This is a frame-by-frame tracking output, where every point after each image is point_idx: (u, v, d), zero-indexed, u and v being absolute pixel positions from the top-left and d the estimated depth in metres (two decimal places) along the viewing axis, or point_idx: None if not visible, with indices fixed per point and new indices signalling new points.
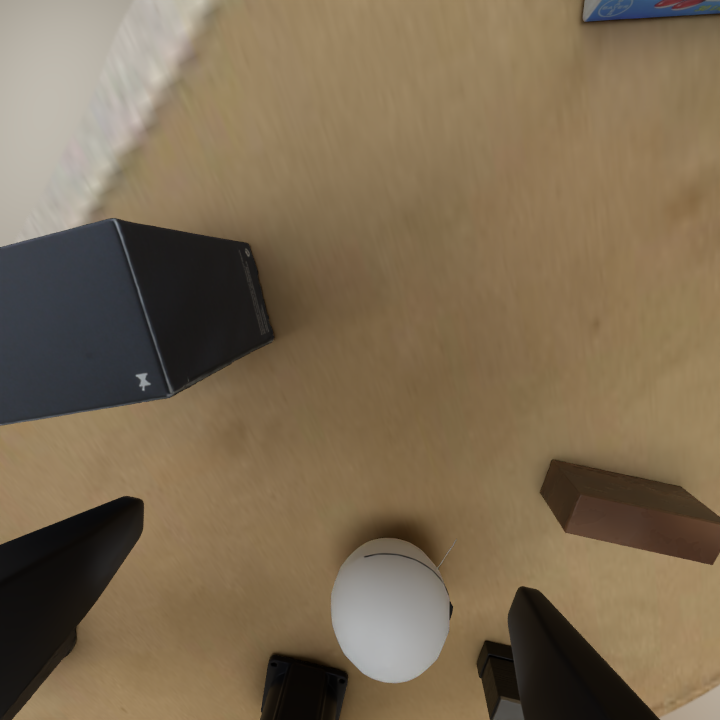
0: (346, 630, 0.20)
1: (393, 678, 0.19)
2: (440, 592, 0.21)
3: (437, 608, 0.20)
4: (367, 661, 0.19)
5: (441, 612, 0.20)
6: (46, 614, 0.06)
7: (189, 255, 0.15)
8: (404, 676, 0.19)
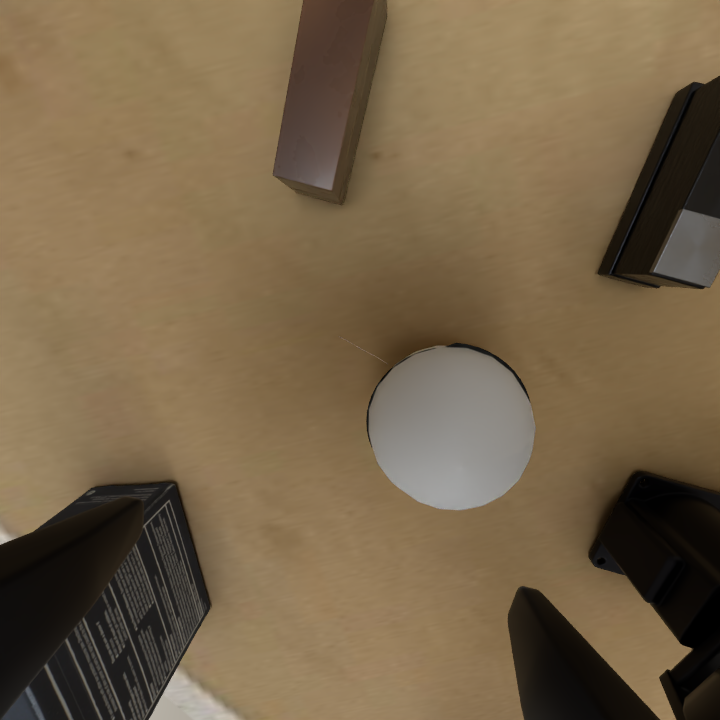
0: (427, 501, 0.15)
1: (489, 461, 0.13)
2: (411, 364, 0.15)
3: (416, 377, 0.14)
4: (455, 490, 0.13)
5: (425, 371, 0.14)
6: (46, 614, 0.06)
7: None
8: (489, 445, 0.13)
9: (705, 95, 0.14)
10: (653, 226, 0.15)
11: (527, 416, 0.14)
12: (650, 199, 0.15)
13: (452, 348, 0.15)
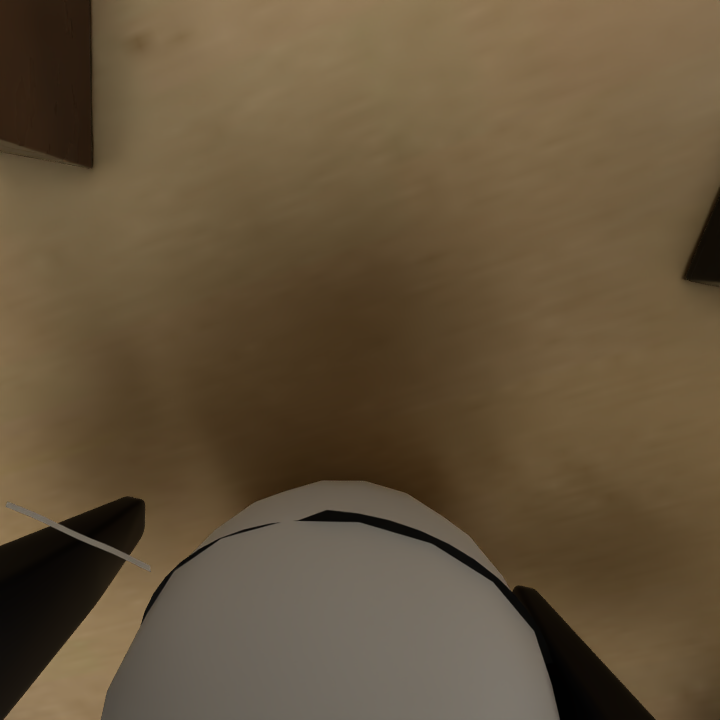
0: None
1: None
2: (188, 594, 0.05)
3: (164, 680, 0.04)
4: None
5: (192, 658, 0.04)
6: (48, 615, 0.06)
7: None
8: None
9: None
10: None
11: None
12: None
13: (316, 527, 0.05)
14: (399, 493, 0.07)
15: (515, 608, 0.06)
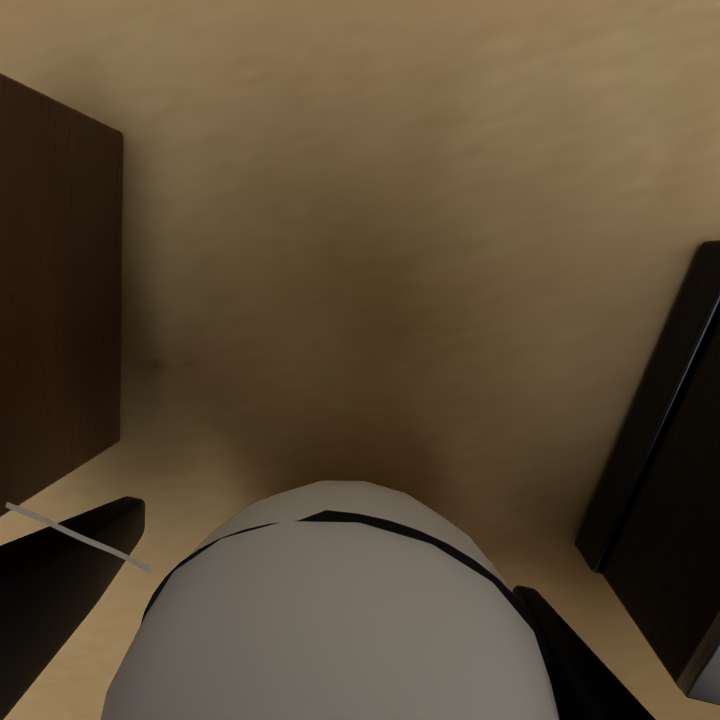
0: None
1: None
2: (188, 594, 0.05)
3: (163, 681, 0.04)
4: None
5: (192, 658, 0.04)
6: (48, 614, 0.06)
7: None
8: None
9: None
10: (676, 550, 0.07)
11: None
12: (664, 466, 0.08)
13: (316, 528, 0.05)
14: (399, 493, 0.07)
15: (515, 608, 0.06)
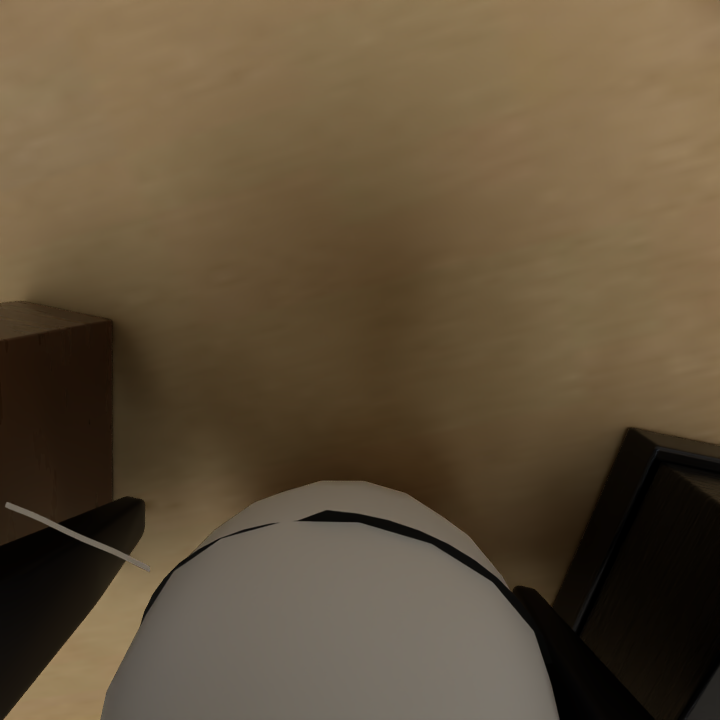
0: None
1: None
2: (188, 594, 0.05)
3: (162, 680, 0.04)
4: None
5: (192, 659, 0.04)
6: (48, 614, 0.06)
7: None
8: None
9: (679, 510, 0.07)
10: None
11: None
12: (595, 629, 0.08)
13: (316, 528, 0.05)
14: (399, 493, 0.07)
15: (515, 608, 0.06)
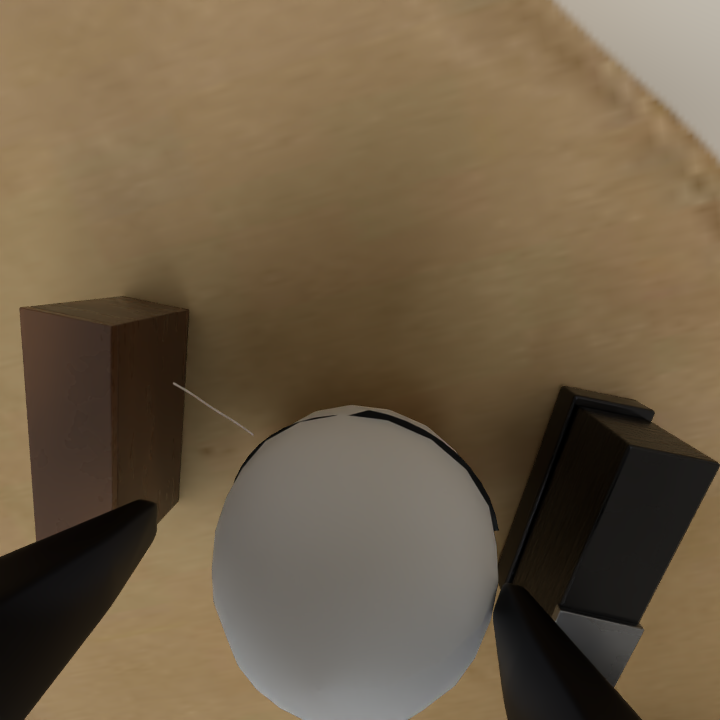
0: None
1: (377, 684, 0.06)
2: (282, 444, 0.09)
3: (274, 477, 0.08)
4: None
5: (291, 467, 0.08)
6: (64, 618, 0.06)
7: None
8: (379, 652, 0.06)
9: (585, 434, 0.10)
10: (537, 584, 0.11)
11: (475, 577, 0.07)
12: (537, 528, 0.12)
13: (361, 419, 0.09)
14: None
15: (478, 489, 0.09)
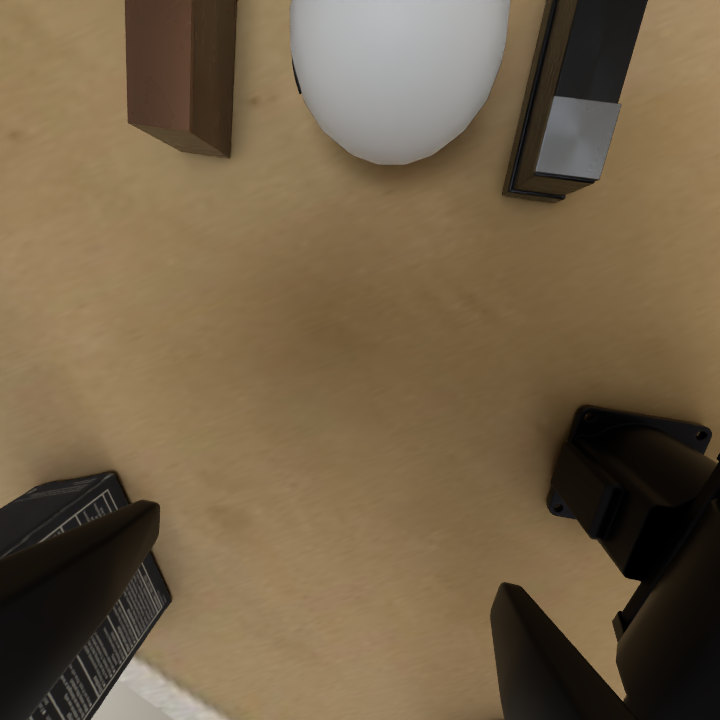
0: (359, 87, 0.11)
1: None
2: None
3: None
4: (390, 18, 0.09)
5: None
6: (67, 619, 0.06)
7: None
8: None
9: None
10: (536, 126, 0.14)
11: None
12: (535, 101, 0.14)
13: None
14: None
15: None
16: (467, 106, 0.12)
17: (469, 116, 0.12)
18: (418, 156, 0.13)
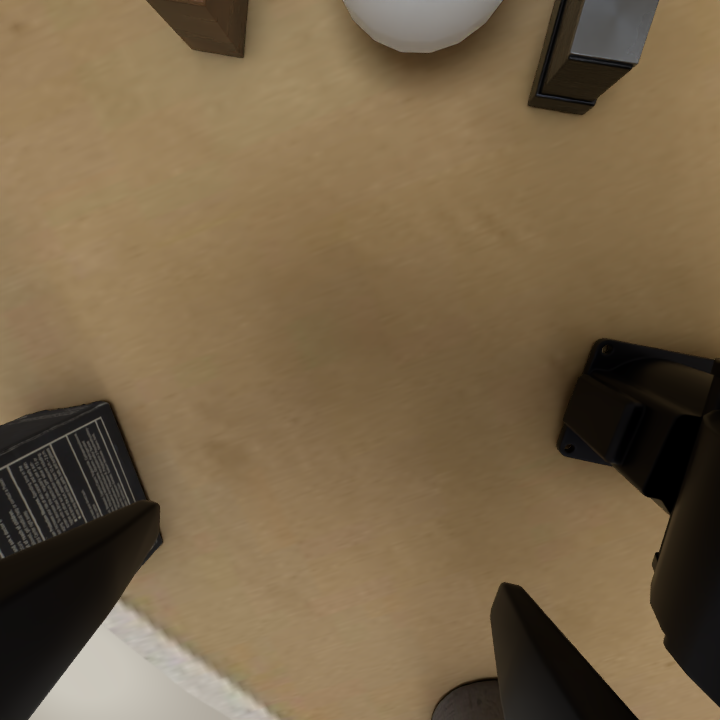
0: None
1: None
2: None
3: None
4: None
5: None
6: (67, 619, 0.06)
7: None
8: None
9: None
10: (571, 12, 0.13)
11: None
12: None
13: None
14: None
15: None
16: None
17: None
18: (446, 33, 0.12)
